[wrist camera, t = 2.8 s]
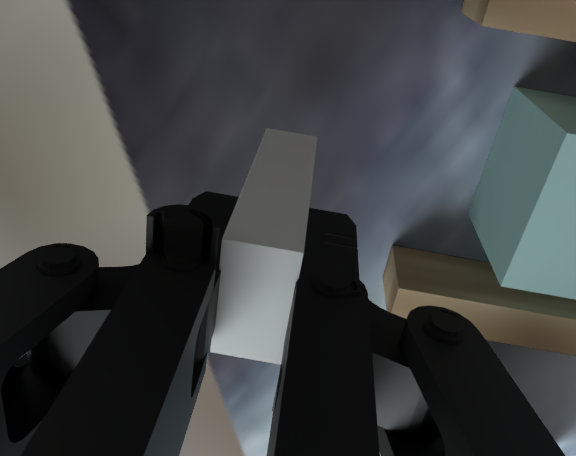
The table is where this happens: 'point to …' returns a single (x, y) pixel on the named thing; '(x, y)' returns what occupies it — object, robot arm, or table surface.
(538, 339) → the guide channel
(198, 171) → the table surface
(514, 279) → the pale teal block
